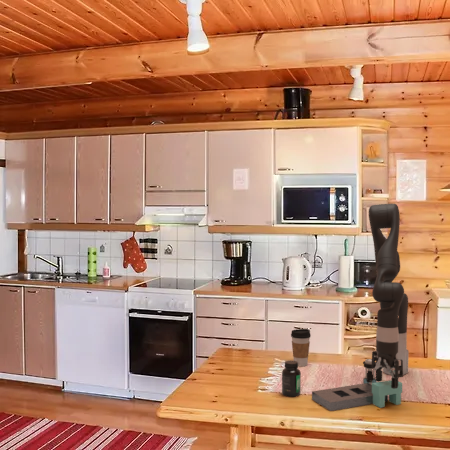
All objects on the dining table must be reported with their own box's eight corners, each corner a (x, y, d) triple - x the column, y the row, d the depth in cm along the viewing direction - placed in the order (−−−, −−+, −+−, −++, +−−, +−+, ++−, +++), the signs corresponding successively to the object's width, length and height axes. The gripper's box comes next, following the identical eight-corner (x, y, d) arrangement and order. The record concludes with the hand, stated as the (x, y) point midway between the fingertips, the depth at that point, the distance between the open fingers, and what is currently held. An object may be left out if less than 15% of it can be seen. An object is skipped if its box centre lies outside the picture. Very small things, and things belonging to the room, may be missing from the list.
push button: (379, 383, 227) (379, 358, 226) (381, 388, 222) (382, 362, 221) (361, 383, 228) (362, 358, 227) (363, 387, 222) (364, 362, 222)
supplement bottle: (303, 396, 213) (303, 364, 212) (285, 398, 212) (285, 365, 211) (296, 390, 220) (297, 359, 219) (279, 391, 218) (279, 360, 218)
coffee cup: (311, 367, 248) (311, 332, 248) (291, 367, 248) (292, 332, 248) (309, 361, 257) (309, 328, 256) (289, 361, 257) (290, 327, 256)
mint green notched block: (394, 400, 209) (394, 379, 209) (402, 403, 205) (402, 382, 205) (371, 404, 205) (371, 383, 205) (378, 408, 202) (379, 386, 201)
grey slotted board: (367, 390, 219) (367, 382, 219) (387, 401, 208) (387, 393, 208) (311, 399, 210) (312, 391, 210) (330, 411, 199) (330, 402, 199)
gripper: (409, 342, 199) (408, 389, 200) (383, 333, 212) (382, 377, 213) (391, 344, 196) (390, 392, 197) (366, 335, 209) (365, 380, 210)
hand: (386, 384), depth 205 cm, fingers open, 8 cm apart
